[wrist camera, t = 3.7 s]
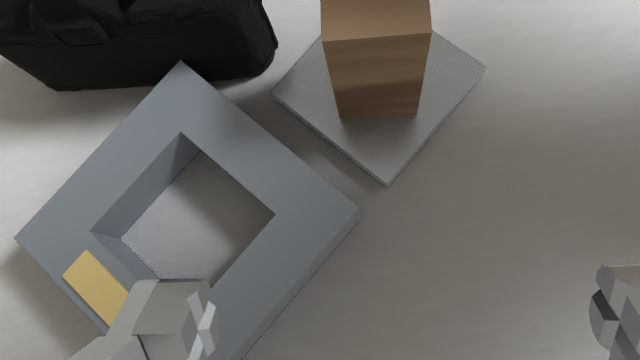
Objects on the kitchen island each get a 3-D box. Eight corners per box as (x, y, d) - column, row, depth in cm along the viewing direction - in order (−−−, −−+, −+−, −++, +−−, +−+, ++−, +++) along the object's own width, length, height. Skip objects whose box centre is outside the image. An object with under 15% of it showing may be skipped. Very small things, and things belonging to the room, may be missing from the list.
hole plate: (362, 217, 26) (359, 206, 23) (204, 403, 25) (179, 417, 22) (200, 84, 29) (178, 57, 26) (52, 244, 28) (10, 237, 25)
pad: (482, 75, 27) (486, 67, 26) (386, 188, 26) (386, 183, 25) (367, -4, 29) (366, -15, 28) (274, 98, 28) (270, 91, 27)
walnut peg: (417, 112, 26) (431, 32, 18) (339, 117, 26) (321, 41, 19) (412, 41, 27) (423, -63, 19) (337, 48, 27) (318, -53, 20)
